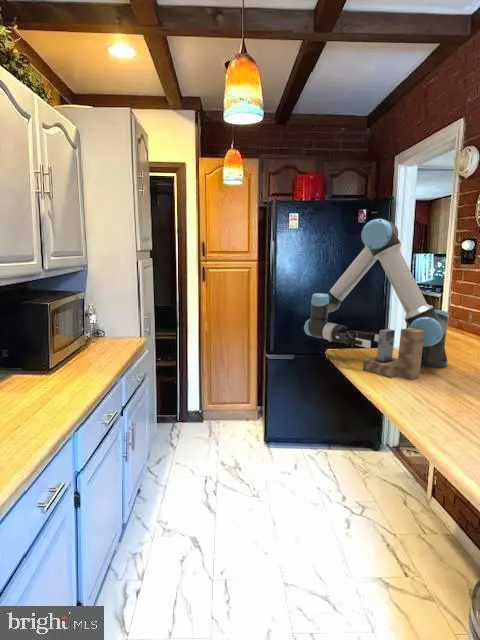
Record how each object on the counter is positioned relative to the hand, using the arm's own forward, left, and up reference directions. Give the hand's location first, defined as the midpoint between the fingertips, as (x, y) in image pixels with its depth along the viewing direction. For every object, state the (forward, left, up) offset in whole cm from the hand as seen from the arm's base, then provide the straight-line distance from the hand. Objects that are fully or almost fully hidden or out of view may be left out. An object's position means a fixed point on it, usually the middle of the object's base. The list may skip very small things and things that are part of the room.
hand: (380, 342), depth 173 cm
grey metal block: (-2, +1, -11) cm, 11 cm away
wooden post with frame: (-5, +5, -11) cm, 13 cm away
